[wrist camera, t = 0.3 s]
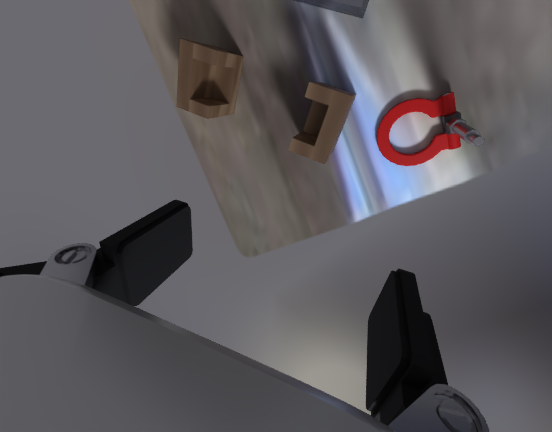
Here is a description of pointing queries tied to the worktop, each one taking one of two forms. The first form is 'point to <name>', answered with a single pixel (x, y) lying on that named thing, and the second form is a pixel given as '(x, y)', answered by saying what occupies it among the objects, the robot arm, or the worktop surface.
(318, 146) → the posts
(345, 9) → the rail
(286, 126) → the worktop surface
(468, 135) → the tow hook
